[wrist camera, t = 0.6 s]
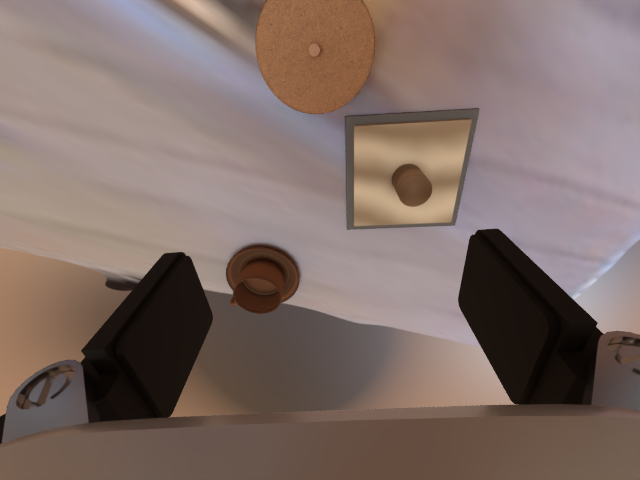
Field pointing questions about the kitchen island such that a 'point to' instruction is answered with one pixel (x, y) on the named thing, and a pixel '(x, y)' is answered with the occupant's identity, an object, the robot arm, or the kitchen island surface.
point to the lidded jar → (315, 51)
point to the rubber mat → (394, 119)
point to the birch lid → (408, 171)
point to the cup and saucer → (261, 279)
